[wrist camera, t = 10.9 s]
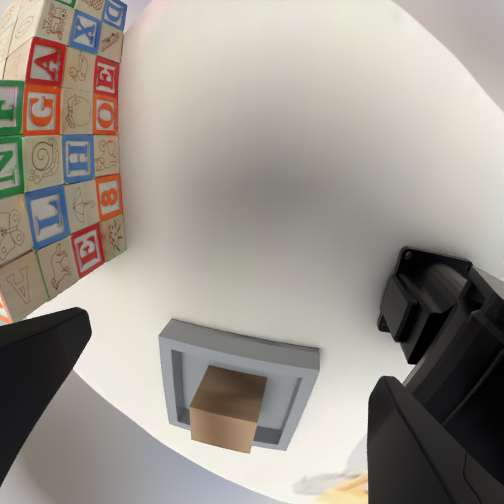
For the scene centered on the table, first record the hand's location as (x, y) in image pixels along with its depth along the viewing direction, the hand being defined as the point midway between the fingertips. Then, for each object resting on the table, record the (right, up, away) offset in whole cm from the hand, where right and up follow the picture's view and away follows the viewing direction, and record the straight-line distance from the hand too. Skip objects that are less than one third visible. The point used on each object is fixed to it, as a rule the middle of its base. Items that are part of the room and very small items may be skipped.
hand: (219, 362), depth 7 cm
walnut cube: (-1, -9, +16) cm, 18 cm away
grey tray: (-1, -9, +16) cm, 18 cm away
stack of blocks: (-12, +13, +11) cm, 21 cm away
